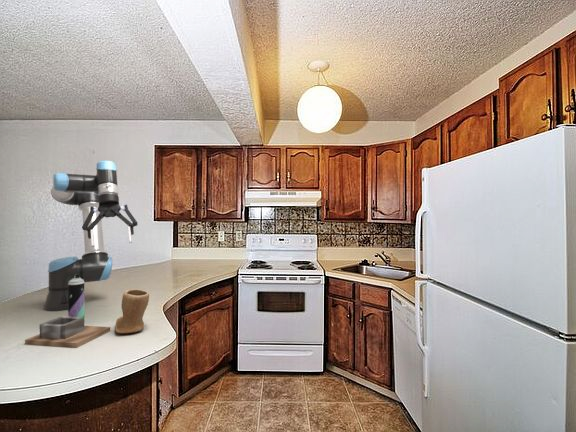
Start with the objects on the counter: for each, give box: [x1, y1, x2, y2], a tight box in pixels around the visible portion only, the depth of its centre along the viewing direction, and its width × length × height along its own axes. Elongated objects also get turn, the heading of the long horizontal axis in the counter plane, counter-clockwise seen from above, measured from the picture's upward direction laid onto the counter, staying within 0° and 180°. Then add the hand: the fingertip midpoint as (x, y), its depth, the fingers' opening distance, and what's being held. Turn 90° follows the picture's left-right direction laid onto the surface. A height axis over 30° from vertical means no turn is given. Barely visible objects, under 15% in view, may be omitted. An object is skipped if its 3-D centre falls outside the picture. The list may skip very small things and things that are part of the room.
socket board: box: [24, 316, 111, 349], centre depth 119 cm, size 20×16×6 cm
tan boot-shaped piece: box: [114, 288, 150, 334], centre depth 128 cm, size 15×12×15 cm
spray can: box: [67, 275, 86, 323], centre depth 133 cm, size 6×6×20 cm
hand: (112, 244), depth 135 cm, fingers open, 13 cm apart
